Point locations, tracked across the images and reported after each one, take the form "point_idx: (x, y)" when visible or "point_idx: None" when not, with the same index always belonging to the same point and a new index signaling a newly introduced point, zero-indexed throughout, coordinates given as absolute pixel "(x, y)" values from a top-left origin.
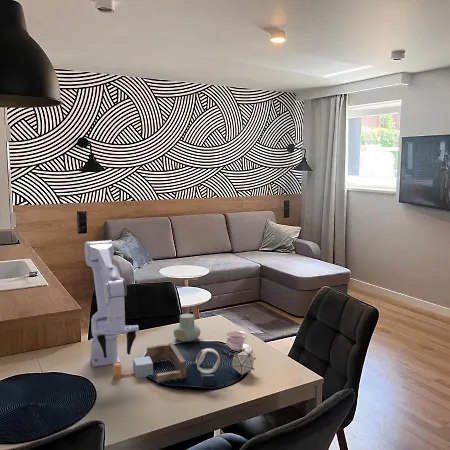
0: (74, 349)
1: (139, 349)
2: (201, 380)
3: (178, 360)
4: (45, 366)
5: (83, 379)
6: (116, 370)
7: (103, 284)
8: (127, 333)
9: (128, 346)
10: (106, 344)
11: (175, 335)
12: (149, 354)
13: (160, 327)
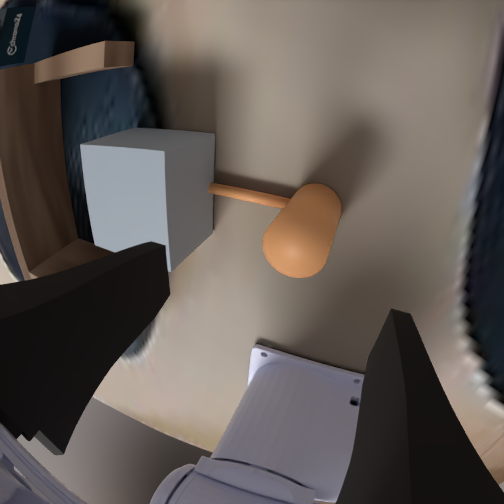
0: None
1: (168, 374)
2: (21, 13)
3: (5, 115)
4: (488, 438)
5: (481, 297)
6: (318, 209)
7: None
8: (19, 423)
9: (94, 285)
10: (281, 452)
11: None
12: None
13: (121, 411)
